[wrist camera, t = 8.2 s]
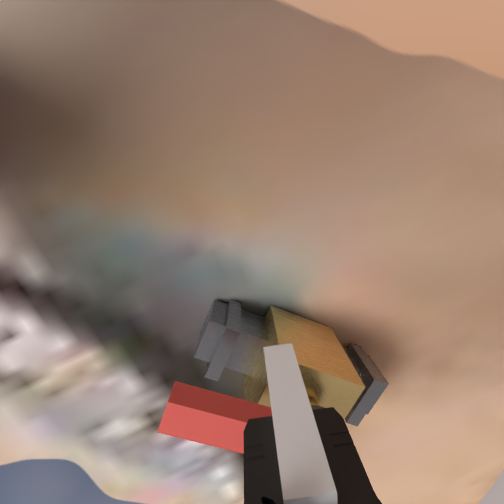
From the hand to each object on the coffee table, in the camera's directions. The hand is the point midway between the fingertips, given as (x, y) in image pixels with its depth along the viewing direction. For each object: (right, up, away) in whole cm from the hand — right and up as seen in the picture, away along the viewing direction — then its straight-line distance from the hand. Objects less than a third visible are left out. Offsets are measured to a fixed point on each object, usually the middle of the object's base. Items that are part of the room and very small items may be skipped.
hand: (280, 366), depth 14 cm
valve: (+2, -4, +14) cm, 15 cm away
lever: (-1, -5, +4) cm, 7 cm away
